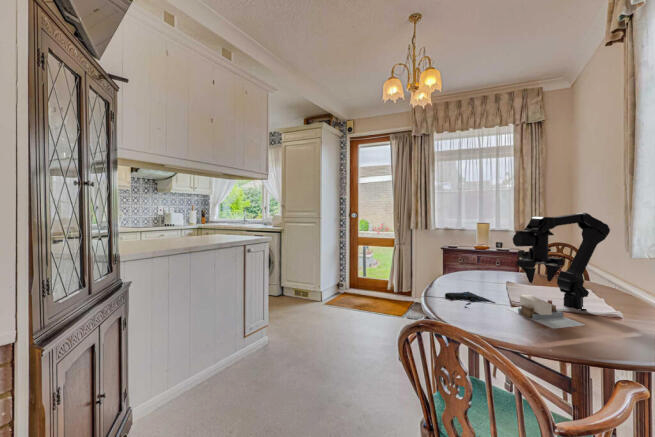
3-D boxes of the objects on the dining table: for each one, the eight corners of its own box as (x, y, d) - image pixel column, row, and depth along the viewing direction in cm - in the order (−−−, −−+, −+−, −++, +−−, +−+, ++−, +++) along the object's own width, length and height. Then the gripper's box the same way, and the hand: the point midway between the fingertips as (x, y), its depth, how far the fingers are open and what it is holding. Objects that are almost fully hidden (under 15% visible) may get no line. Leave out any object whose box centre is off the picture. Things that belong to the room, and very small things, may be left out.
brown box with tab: (546, 312, 122) (546, 298, 122) (555, 315, 118) (556, 301, 118) (521, 314, 120) (521, 301, 120) (529, 318, 116) (529, 304, 116)
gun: (479, 316, 126) (506, 311, 131) (479, 309, 126) (506, 304, 130) (441, 298, 148) (465, 294, 153) (441, 292, 148) (465, 289, 153)
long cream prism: (529, 304, 125) (529, 294, 124) (551, 314, 113) (551, 304, 112) (520, 304, 124) (520, 295, 124) (541, 314, 112) (541, 304, 112)
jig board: (533, 308, 130) (533, 301, 130) (585, 328, 108) (585, 319, 108) (505, 310, 128) (505, 303, 128) (553, 331, 106) (553, 323, 106)
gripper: (542, 242, 137) (541, 276, 137) (506, 244, 134) (506, 279, 134) (565, 245, 126) (565, 282, 126) (527, 247, 123) (527, 285, 123)
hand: (539, 282), depth 128 cm, fingers open, 9 cm apart
